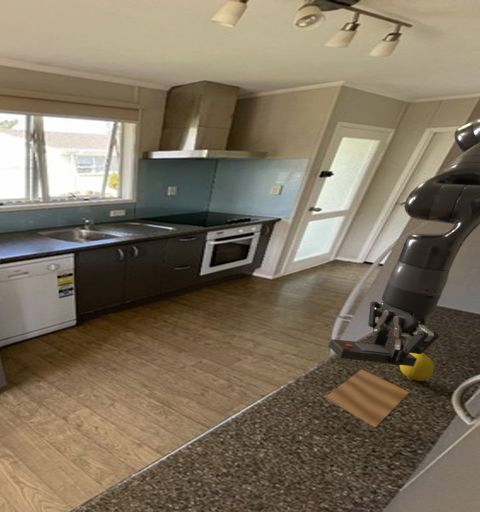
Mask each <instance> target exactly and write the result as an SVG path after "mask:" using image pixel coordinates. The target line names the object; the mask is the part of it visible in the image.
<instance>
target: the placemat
mask: <svg viewBox="0 0 480 512" xmlns="http://www.w3.org/2000/svg"><path fill="white" fill-rule="evenodd" d="M409 393H410V391H408V390H406V389H404V388H402V387H400V386H397V385H396V384H394V383H391V382H389V381H387V380H385V379H383V378H381V377H380V376H378V375H375V374H373V373H371V372H368V371H366V370H365V369H362V368H361V369H360V370H359V371H357V372H356V373H354V374H353V375H352V376H350V377H349V378H348V379H347V380H346V381H344V382H343V383H341V384H340V385H339V386H338V387H336V388H334V390H332V391H331V392H330V393H329V394H327V395H326V396H325V397H324V398H325V399H327V400H328V401H330V402H332V403H333V404H334V405H336V406H339V408H341V409H343V410H345V411H346V412H347V413H350V415H351V414H352V415H353V416H355V417H356V418H358V419H360V420H361V421H363V422H365V423H366V424H368V425H370V426H372V427H373V428H375V429H376V428H377V427H378V426H379V425H380V424H381V423H382V422H383V421H384V420H385V419H386V418H387V417H388V415H390V413H391V412H393V410H394V409H395V408H397V406H398V405H399V404H400V403H401V402H402V401H403V400H404V399H405V398H406V397H407V395H409Z"/></svg>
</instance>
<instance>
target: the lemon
mask: <svg viewBox="0 0 480 512" xmlns="http://www.w3.org/2000/svg"><path fill="white" fill-rule="evenodd" d="M410 354H411V355H412V356H414V357H415V358H417V360H416V362H415V364H414V366H406V365H399V369H400V372H401V373H402V374H403V375H404V376H405V377H406V378H407V379H409V380H411V381H416V382H417V381H419V382H422V381H426V380H428V379H429V378H431V376H433V374H434V370H435V364H434V362H433V360H432V359H431V358H430V357H429V356H428V355H427V354H425V353H424V352H423V353H422V354H415V353H410Z"/></svg>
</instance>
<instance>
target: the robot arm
mask: <svg viewBox="0 0 480 512" xmlns="http://www.w3.org/2000/svg"><path fill="white" fill-rule="evenodd" d="M453 138H454V142H455V143H456V145H457V147H458V149H459V150H460V151H461V152H462V153H460V154H459V155H458V156H457V157H455V158H454V159H453V160H452V161H450V163H449V164H448V165H447V166H446V167H445V168H444V170H443V171H442V172H441V173H438V174H436V175H434V176H431V177H430V178H428V179H427V180H424V181H423V182H422V183H420V184H418V185H417V186H416V187H415V188H414V189H413V190H412V191H411V192H410V193H409V194H408V195H407V197H406V198H405V201H404V212H405V214H407V215H408V216H409V218H412V219H414V220H418V221H424V222H425V221H426V222H434V223H443V224H451V225H453V226H451V228H450V229H448V230H446V231H442V232H414V233H410V234H409V235H408V236H407V237H406V238H405V241H404V243H403V244H402V245H403V246H402V248H401V250H400V253H399V255H398V258H397V260H396V262H395V265H394V266H393V268H392V270H391V272H390V274H389V277H388V279H387V283H386V285H385V288H384V291H383V293H382V296H381V300H382V301H374V300H373V301H371V302H370V305H369V313H368V327H370V328H372V331H373V336H372V339H371V342H370V343H374V344H383V345H387V343H388V340H389V335H390V334H391V333H392V338H394V346H395V348H394V347H393V349H392V352H391V354H390V357H389V359H388V362H389V363H391V364H390V365H393V366H400V365H402V364H404V362H405V360H406V358H407V355H408V353H415V354H422V353H424V352H425V351H426V350H427V349H428V348H430V346H432V344H433V343H435V341H436V340H438V339H439V333H438V332H436V331H431V330H430V329H429V328H428V327H427V326H426V325H427V322H426V319H427V317H428V316H429V315H431V314H433V313H434V312H435V310H436V308H437V306H438V304H439V301H440V299H441V296H442V294H443V292H444V290H445V287H446V285H447V283H448V280H449V275H450V271H451V269H452V267H453V266H454V265H453V264H454V262H455V260H456V258H457V255H458V253H459V252H460V250H461V248H462V247H463V244H464V243H465V242H466V240H467V239H468V238H469V237H470V236H471V235H472V233H473V232H474V231H475V230H476V229H477V228H478V227H479V226H480V117H478V118H475V119H473V120H471V121H469V122H466V123H464V124H463V125H460V126H459V127H458V128H457V129H456V130H455V131H454V137H453ZM376 318H378V319H377V321H376ZM404 340H405V344H404Z"/></svg>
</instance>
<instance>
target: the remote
mask: <svg viewBox="0 0 480 512" xmlns="http://www.w3.org/2000/svg"><path fill="white" fill-rule="evenodd" d="M328 347H329V348H330V350H332V351H333V353H334V354H336V355H337V357H339V359H344V360H352V361H362V362H372V363H379V364H380V363H381V364H388V365H389V364H390V365H392V364H391V363H389V362H388V359H389V357H390V354H391V352H392V349H393V347H394V348H395V345H391V344H386V345H383V344H374V343H371V342H362V341H354V340H353V341H352V340H344V339H343V340H342V339H334V338H331V339H330V341H329V343H328ZM416 360H417V358H415V357H414V356H412V355H411V354H410V353H408V355H407V358H406V360H405V362H404V364H402V365H406V366H414V364H415V362H416Z"/></svg>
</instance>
